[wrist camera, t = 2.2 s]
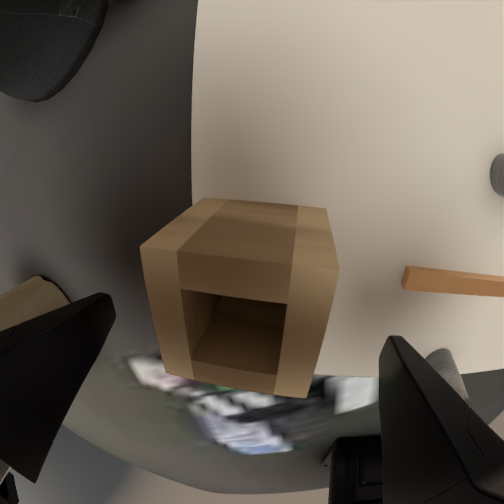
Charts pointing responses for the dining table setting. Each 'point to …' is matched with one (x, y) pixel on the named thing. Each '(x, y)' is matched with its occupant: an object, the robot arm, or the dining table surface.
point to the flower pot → (29, 301)
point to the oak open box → (242, 293)
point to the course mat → (366, 154)
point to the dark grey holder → (45, 44)
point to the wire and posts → (457, 290)
